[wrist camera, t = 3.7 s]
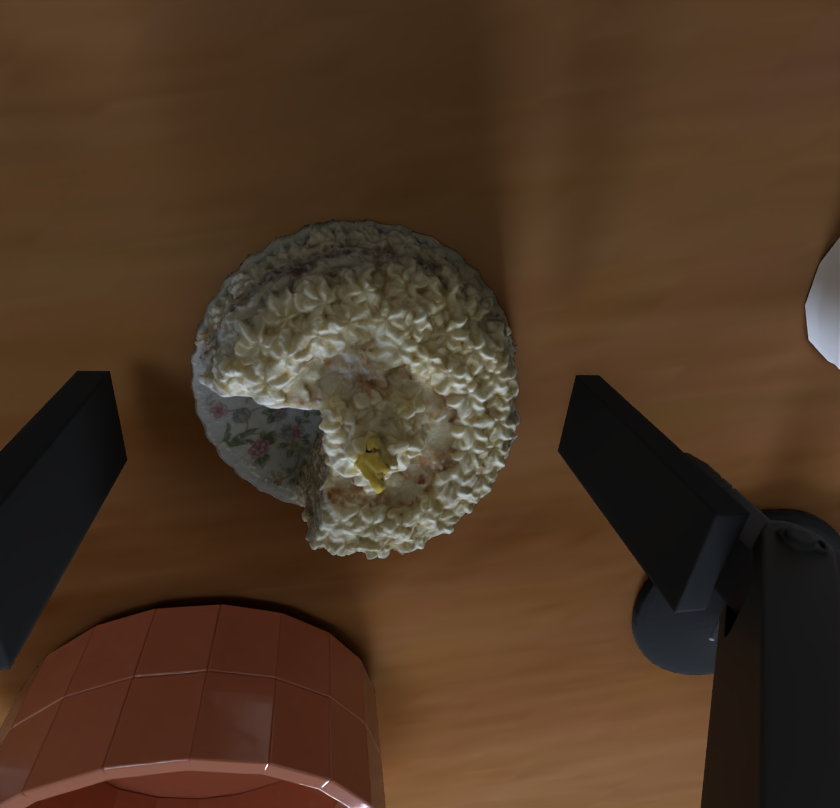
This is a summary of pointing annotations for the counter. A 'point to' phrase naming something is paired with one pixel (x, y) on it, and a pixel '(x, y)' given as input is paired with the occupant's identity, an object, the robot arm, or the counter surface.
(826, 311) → the foam cup
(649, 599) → the wine glass
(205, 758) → the bowl
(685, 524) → the robot arm
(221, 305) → the cake
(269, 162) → the counter surface
